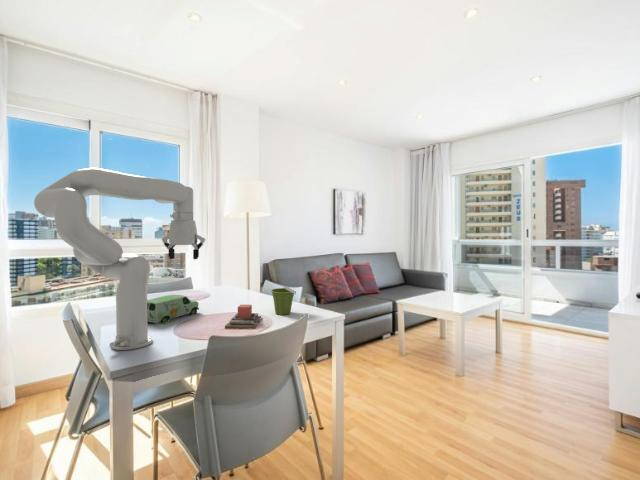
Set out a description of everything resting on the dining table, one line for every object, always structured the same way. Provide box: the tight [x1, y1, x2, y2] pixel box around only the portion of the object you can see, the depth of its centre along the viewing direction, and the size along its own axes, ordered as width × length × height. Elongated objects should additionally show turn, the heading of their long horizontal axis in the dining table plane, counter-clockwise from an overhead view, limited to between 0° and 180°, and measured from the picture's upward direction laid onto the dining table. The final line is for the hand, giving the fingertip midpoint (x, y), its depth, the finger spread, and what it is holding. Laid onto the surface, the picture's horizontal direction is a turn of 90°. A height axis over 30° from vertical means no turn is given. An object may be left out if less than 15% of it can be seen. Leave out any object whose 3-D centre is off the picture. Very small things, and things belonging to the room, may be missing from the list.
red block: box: [237, 304, 253, 318], centre depth 145 cm, size 5×5×6 cm
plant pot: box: [270, 287, 295, 316], centre depth 160 cm, size 12×12×11 cm
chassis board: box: [224, 312, 262, 330], centre depth 143 cm, size 16×12×3 cm
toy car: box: [147, 294, 200, 325], centre depth 151 cm, size 11×25×10 cm, turn 156°
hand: (183, 259), depth 135 cm, fingers open, 9 cm apart
